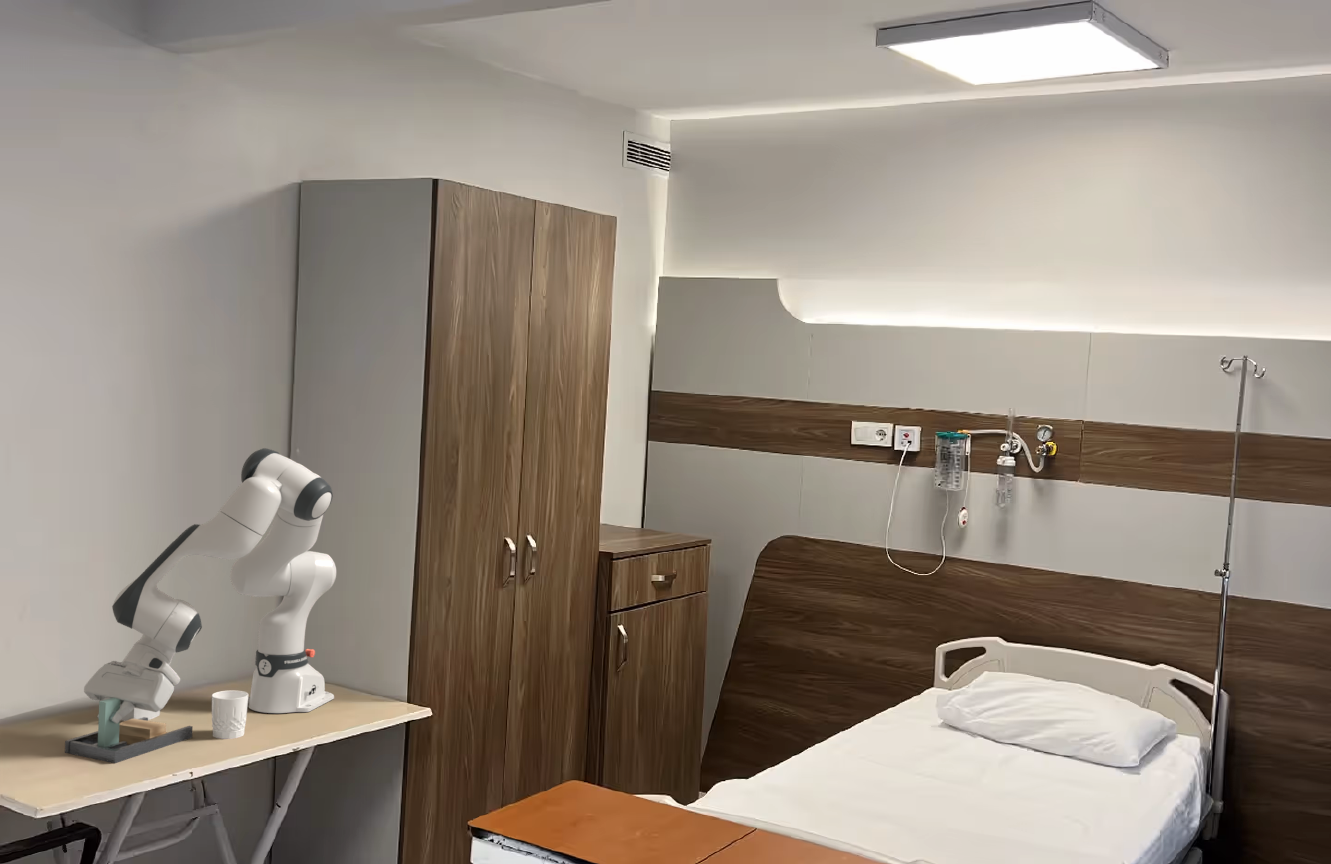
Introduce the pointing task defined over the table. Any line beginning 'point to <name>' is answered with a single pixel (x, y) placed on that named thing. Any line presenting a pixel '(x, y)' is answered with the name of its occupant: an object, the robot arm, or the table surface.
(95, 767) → the table surface
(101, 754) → the tray
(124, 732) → the offcut stack
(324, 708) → the table surface
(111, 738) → the sage board
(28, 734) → the table surface
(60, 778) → the table surface
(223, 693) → the white cup
